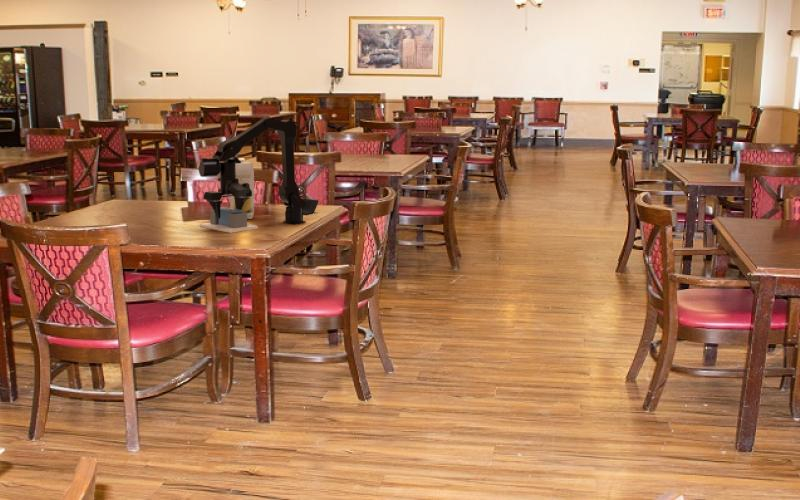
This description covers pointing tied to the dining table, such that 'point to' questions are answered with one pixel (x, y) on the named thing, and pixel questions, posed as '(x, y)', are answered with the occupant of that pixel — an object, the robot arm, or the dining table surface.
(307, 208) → the black tapered bin
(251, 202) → the juice carton
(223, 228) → the plate
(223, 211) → the block
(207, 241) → the dining table surface
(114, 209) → the dining table surface
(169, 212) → the dining table surface
